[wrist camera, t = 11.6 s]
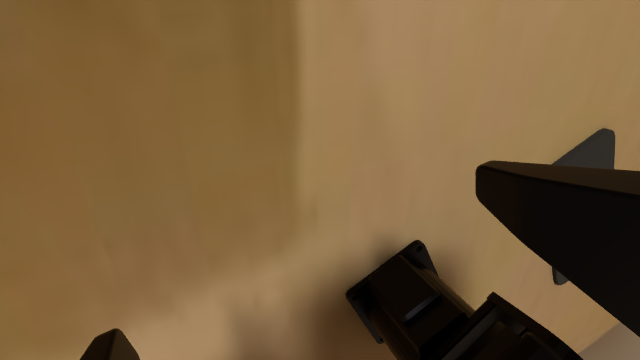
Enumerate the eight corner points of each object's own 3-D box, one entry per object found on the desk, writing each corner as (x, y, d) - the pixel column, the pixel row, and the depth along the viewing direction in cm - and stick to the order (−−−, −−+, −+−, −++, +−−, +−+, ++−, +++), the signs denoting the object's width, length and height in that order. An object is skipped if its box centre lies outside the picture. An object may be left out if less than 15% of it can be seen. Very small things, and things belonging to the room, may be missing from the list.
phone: (557, 290, 36) (547, 174, 28) (549, 284, 37) (537, 170, 29) (611, 247, 37) (616, 124, 29) (602, 242, 38) (605, 121, 30)
